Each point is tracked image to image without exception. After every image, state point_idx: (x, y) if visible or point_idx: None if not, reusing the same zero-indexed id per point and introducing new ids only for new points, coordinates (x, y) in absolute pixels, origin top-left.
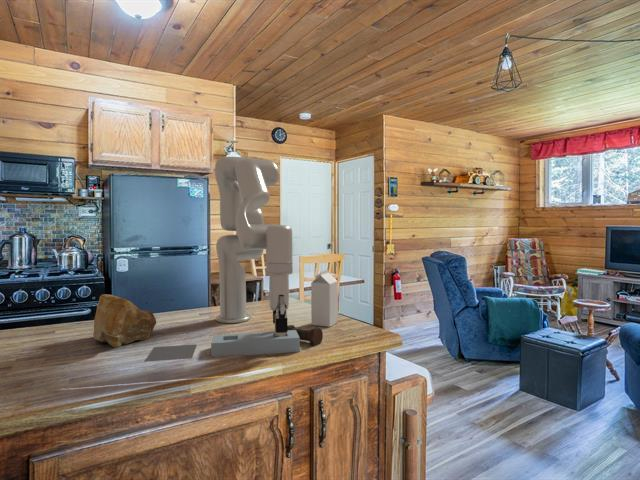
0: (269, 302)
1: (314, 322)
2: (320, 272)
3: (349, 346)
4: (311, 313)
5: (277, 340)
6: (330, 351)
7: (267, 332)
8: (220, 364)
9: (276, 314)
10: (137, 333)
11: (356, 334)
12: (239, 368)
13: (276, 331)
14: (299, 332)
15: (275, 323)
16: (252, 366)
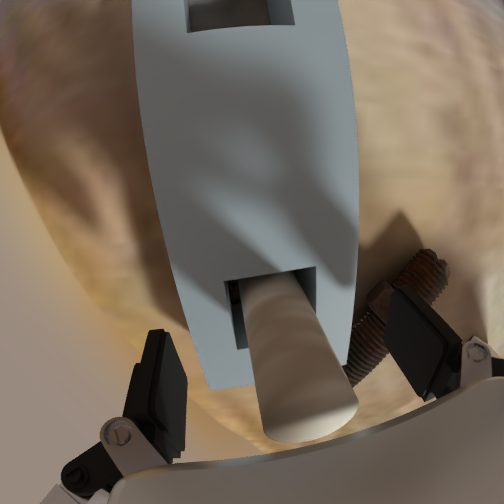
0: (440, 444)
1: None
2: None
3: (255, 439)
4: (493, 356)
5: (182, 298)
6: (212, 413)
7: (342, 229)
8: (61, 32)
9: (141, 447)
10: None
11: None
12: (15, 128)
13: (150, 335)
14: (346, 363)
15: (273, 342)
16: (30, 174)
